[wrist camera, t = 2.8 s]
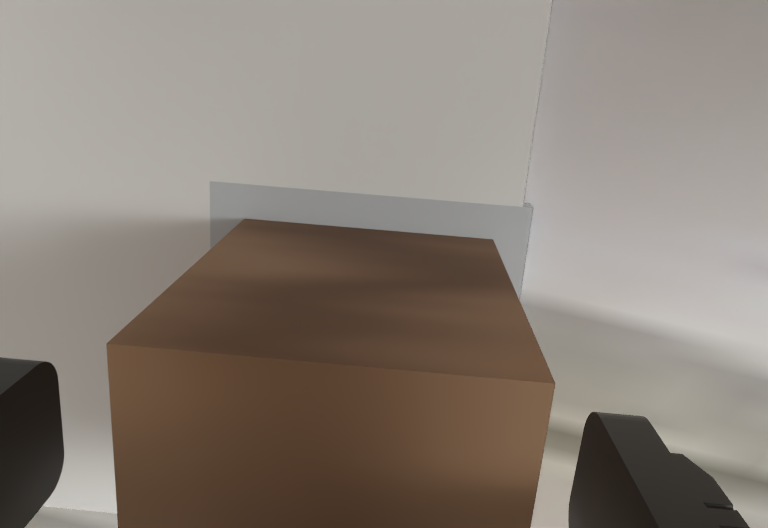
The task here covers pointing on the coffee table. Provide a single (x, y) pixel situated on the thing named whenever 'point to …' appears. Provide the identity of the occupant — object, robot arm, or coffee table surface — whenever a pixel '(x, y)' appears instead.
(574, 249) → the coffee table surface
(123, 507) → the walnut block
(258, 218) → the white board
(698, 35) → the coffee table surface
